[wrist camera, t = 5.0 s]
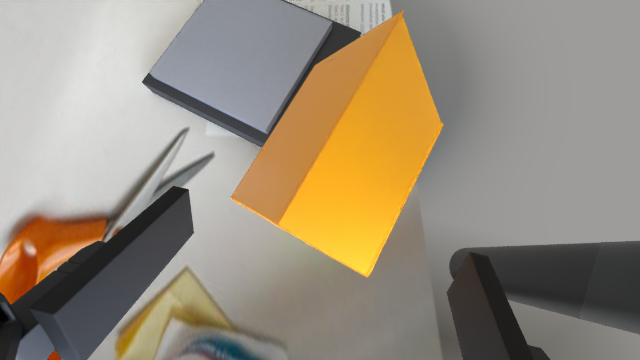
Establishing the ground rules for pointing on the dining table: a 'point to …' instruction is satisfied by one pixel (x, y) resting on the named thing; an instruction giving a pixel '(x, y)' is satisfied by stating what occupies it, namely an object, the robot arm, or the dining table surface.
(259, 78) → the scale
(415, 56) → the orange juice
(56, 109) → the dining table surface
